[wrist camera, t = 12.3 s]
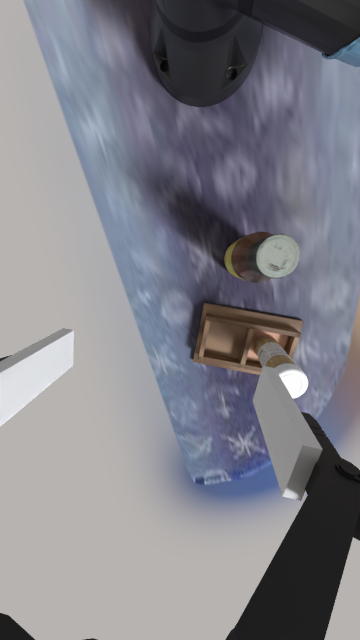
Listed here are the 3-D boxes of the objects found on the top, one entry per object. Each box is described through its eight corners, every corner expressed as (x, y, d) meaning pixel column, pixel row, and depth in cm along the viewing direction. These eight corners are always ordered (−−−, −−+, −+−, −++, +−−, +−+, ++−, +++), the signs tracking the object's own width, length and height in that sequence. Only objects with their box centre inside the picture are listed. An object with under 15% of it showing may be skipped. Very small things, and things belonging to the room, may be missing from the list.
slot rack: (204, 302, 43) (204, 306, 40) (301, 320, 42) (308, 325, 39) (193, 360, 47) (192, 366, 44) (283, 377, 46) (288, 385, 43)
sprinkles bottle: (270, 361, 44) (296, 405, 31) (248, 351, 44) (266, 391, 31) (283, 341, 43) (316, 378, 30) (260, 330, 43) (284, 364, 30)
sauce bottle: (238, 283, 42) (265, 308, 23) (216, 256, 41) (224, 259, 22) (269, 258, 40) (325, 262, 21) (246, 230, 39) (283, 207, 20)
